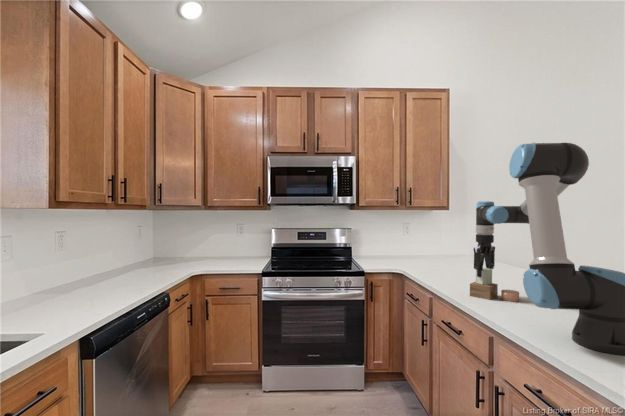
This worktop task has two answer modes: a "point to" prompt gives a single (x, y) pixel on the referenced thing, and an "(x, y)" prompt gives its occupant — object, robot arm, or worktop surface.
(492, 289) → the walnut block
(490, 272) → the green block
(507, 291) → the brown rounded block
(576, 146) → the robot arm
